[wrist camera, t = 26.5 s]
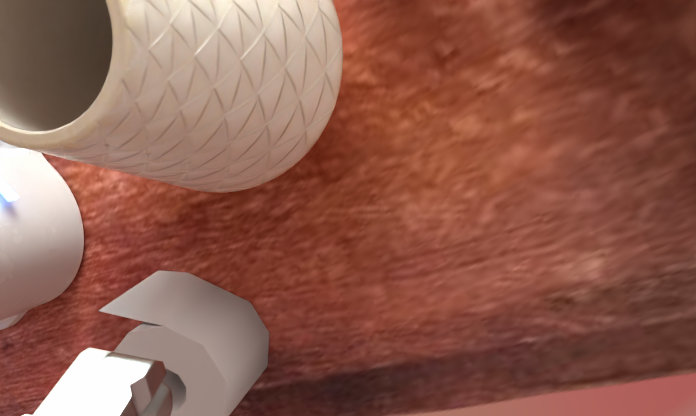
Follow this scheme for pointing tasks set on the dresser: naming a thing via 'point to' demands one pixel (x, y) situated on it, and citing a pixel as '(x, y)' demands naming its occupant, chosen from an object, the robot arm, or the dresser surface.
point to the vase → (171, 85)
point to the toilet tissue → (195, 340)
